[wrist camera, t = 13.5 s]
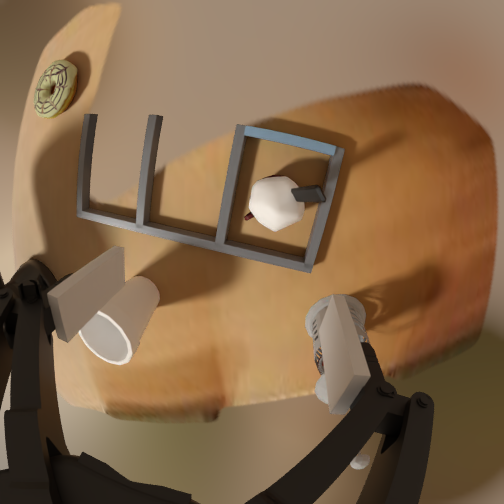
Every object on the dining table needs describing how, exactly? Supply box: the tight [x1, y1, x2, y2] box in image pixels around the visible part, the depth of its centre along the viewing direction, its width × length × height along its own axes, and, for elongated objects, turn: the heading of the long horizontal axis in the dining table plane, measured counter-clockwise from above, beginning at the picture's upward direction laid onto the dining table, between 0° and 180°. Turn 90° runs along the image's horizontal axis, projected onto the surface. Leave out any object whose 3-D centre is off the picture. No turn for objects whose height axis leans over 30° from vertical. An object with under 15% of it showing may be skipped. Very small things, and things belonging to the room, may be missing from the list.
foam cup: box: [79, 276, 160, 365], centre depth 37 cm, size 10×9×13 cm
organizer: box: [77, 114, 345, 273], centre depth 34 cm, size 37×17×2 cm, turn 79°
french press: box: [305, 294, 370, 469], centre depth 29 cm, size 10×12×25 cm
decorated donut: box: [34, 60, 77, 118], centre depth 30 cm, size 10×11×4 cm
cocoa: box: [244, 175, 326, 232], centre depth 29 cm, size 10×6×12 cm, turn 99°
